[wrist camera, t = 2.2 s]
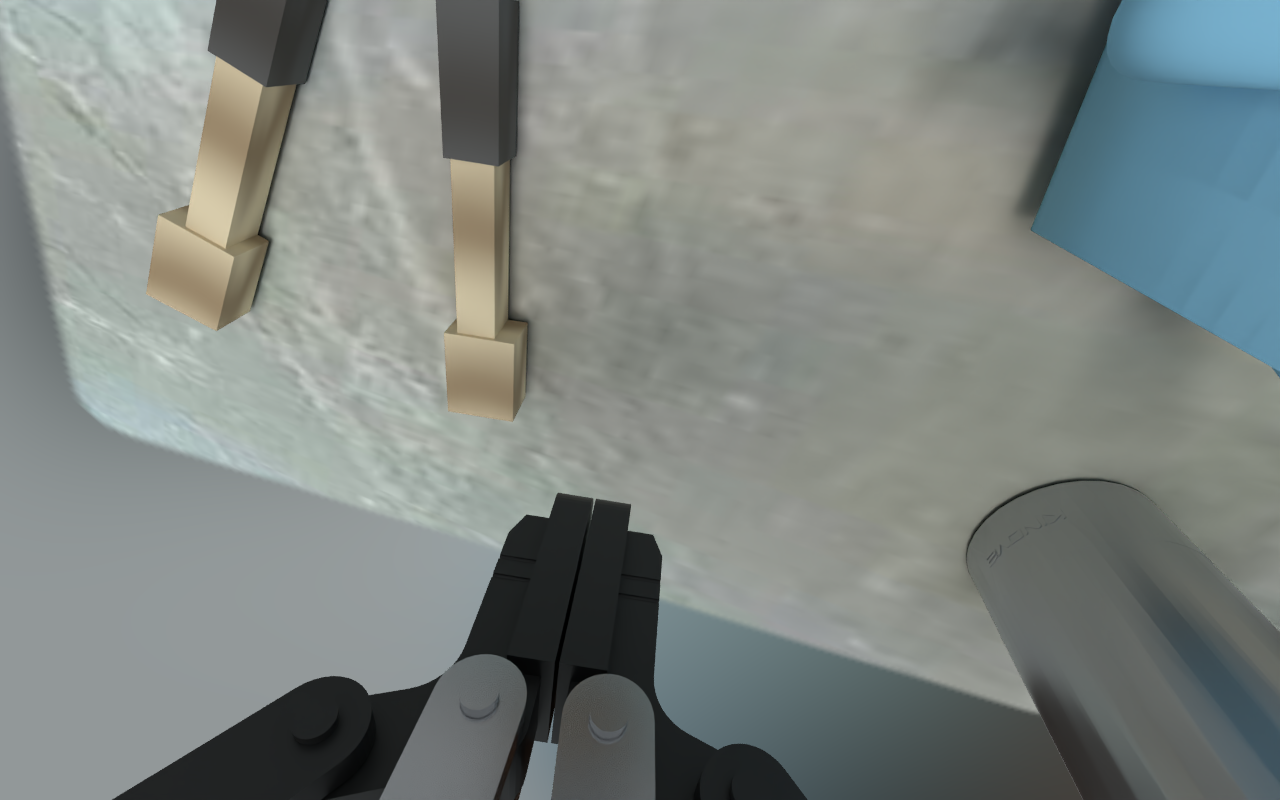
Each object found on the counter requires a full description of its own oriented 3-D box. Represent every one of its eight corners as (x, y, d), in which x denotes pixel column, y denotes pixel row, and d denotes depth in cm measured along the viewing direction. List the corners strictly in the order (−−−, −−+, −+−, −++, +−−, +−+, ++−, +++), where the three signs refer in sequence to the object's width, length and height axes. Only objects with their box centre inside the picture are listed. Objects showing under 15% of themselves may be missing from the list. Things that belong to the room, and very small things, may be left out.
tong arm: (450, -84, 19) (420, -99, 17) (541, -70, 19) (522, -83, 17) (466, 385, 28) (448, 411, 26) (525, 395, 28) (512, 421, 26)
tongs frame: (326, -418, 15) (246, -517, 13) (522, -251, 17) (486, -309, 14) (190, 274, 27) (132, 300, 24) (312, 340, 28) (271, 372, 25)
